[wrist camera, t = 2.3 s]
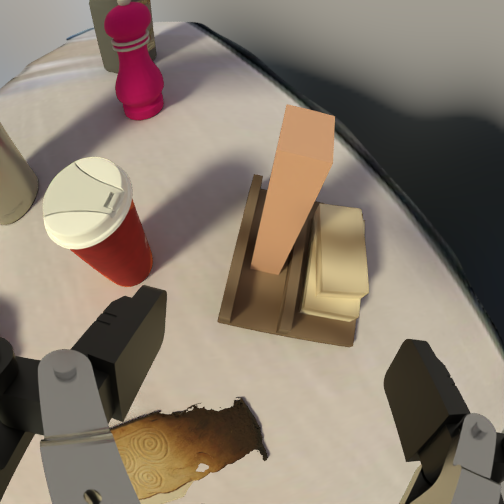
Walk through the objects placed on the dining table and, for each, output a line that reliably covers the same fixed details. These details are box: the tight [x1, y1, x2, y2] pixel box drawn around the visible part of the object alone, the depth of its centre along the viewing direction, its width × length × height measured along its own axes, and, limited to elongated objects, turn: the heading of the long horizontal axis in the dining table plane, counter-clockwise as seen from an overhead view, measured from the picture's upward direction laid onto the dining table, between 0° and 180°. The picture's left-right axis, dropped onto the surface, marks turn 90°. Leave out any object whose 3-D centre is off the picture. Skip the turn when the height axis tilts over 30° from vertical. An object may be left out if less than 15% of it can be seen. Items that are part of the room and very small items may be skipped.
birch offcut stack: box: [299, 203, 369, 322], centre depth 31 cm, size 11×6×5 cm, turn 169°
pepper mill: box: [104, 0, 164, 120], centre depth 32 cm, size 7×7×20 cm
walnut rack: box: [218, 174, 363, 347], centre depth 32 cm, size 16×14×4 cm
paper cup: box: [43, 157, 153, 287], centre depth 26 cm, size 8×8×14 cm
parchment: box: [110, 397, 268, 504], centre depth 24 cm, size 25×10×1 cm, turn 119°
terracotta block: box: [250, 105, 335, 275], centre depth 24 cm, size 4×3×18 cm
